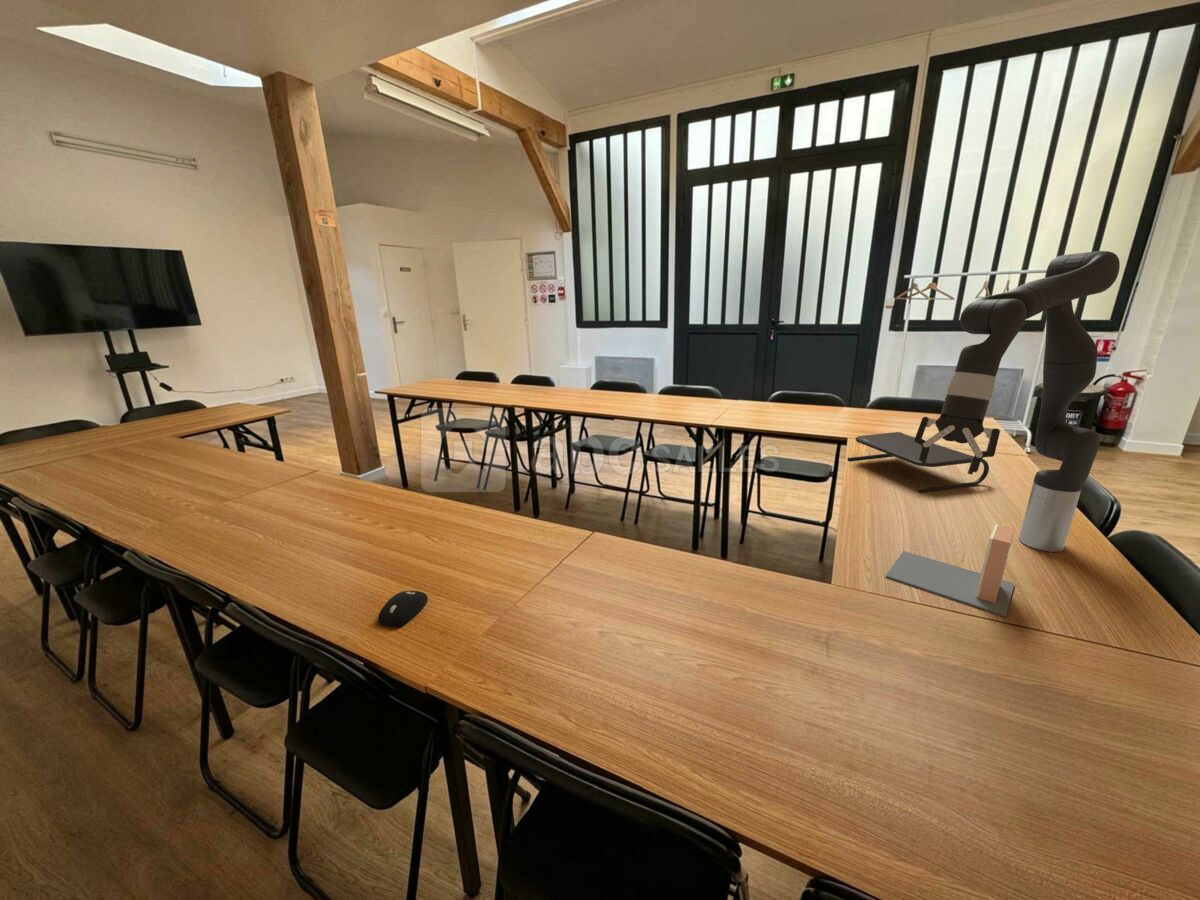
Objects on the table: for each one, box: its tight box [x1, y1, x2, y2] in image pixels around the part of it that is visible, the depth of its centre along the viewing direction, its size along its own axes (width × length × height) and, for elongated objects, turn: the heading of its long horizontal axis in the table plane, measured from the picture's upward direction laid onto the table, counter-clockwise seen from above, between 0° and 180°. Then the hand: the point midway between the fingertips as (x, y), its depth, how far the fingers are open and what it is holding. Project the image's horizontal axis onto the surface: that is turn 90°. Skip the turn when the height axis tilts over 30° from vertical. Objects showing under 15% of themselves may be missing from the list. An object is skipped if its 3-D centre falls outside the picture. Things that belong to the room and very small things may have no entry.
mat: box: [885, 550, 1015, 618], centre depth 115 cm, size 16×23×1 cm
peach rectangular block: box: [975, 523, 1016, 603], centre depth 107 cm, size 9×4×15 cm, turn 135°
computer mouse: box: [377, 590, 428, 628], centre depth 110 cm, size 8×12×4 cm, turn 161°
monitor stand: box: [847, 431, 990, 494], centre depth 183 cm, size 37×28×11 cm
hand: (945, 468), depth 104 cm, fingers open, 8 cm apart
